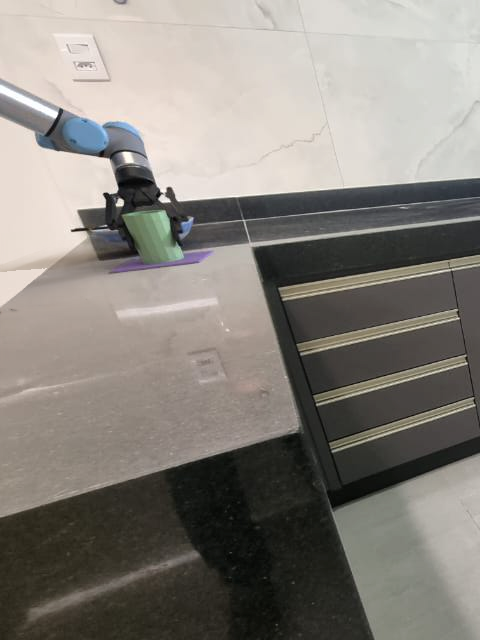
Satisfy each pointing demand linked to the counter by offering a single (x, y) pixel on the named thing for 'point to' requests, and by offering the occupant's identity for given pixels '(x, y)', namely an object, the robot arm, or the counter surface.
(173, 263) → the towel
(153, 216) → the green faceted cylinder
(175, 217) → the robot arm
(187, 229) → the ramen bowl
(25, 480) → the counter surface
